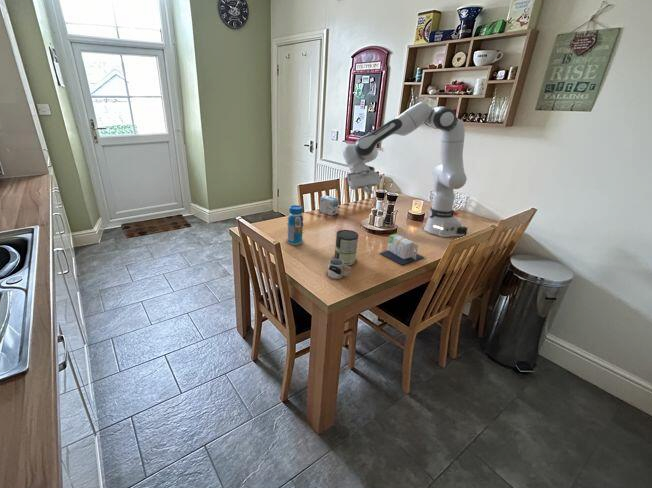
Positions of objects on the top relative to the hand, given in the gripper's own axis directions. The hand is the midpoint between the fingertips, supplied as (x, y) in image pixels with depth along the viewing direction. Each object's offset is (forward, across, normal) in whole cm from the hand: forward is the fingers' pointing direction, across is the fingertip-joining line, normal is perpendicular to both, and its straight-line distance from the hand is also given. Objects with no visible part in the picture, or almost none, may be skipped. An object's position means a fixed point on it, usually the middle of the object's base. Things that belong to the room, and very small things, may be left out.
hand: (370, 193), depth 177 cm
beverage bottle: (+9, -39, +28) cm, 49 cm away
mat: (+37, -1, -1) cm, 37 cm away
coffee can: (+30, -29, +7) cm, 42 cm away
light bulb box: (-11, +7, +47) cm, 49 cm away
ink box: (+28, -1, +1) cm, 28 cm away
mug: (+37, -42, -1) cm, 56 cm away
